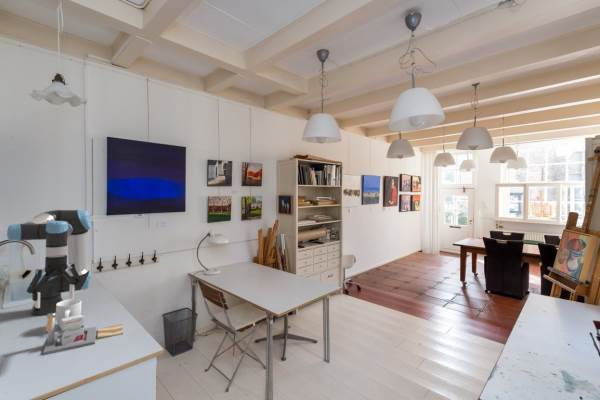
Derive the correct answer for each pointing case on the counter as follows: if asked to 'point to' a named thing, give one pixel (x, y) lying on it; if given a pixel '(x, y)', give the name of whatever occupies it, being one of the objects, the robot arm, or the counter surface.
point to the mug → (67, 309)
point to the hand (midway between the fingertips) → (55, 302)
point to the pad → (110, 331)
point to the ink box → (72, 329)
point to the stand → (53, 340)
